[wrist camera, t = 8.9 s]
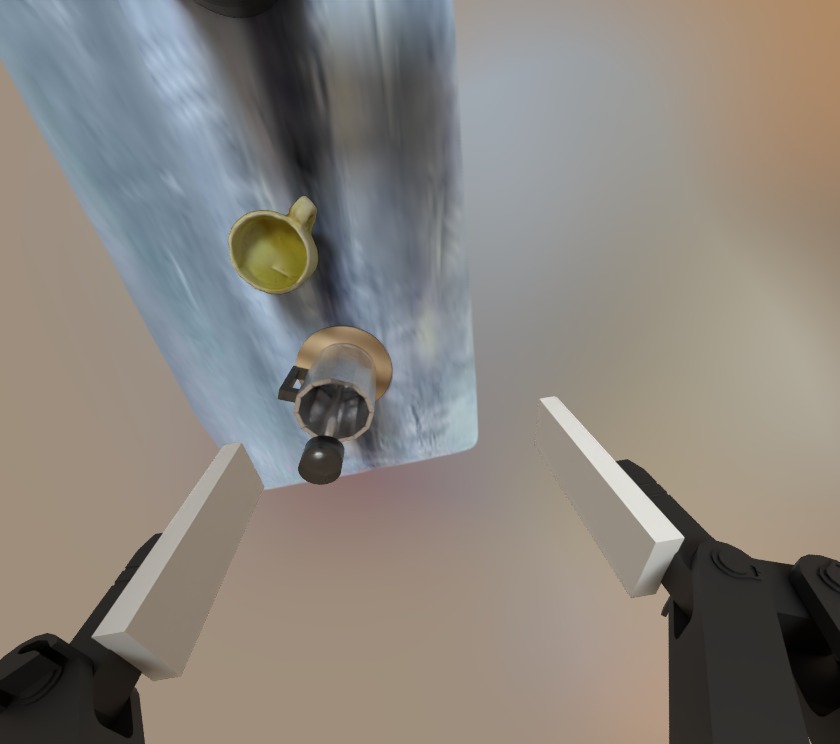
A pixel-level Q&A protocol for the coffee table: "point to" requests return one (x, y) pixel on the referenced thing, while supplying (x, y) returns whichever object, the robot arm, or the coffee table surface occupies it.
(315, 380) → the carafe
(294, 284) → the mug
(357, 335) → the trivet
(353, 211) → the coffee table surface
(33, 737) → the robot arm
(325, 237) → the coffee table surface
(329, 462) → the plunger
